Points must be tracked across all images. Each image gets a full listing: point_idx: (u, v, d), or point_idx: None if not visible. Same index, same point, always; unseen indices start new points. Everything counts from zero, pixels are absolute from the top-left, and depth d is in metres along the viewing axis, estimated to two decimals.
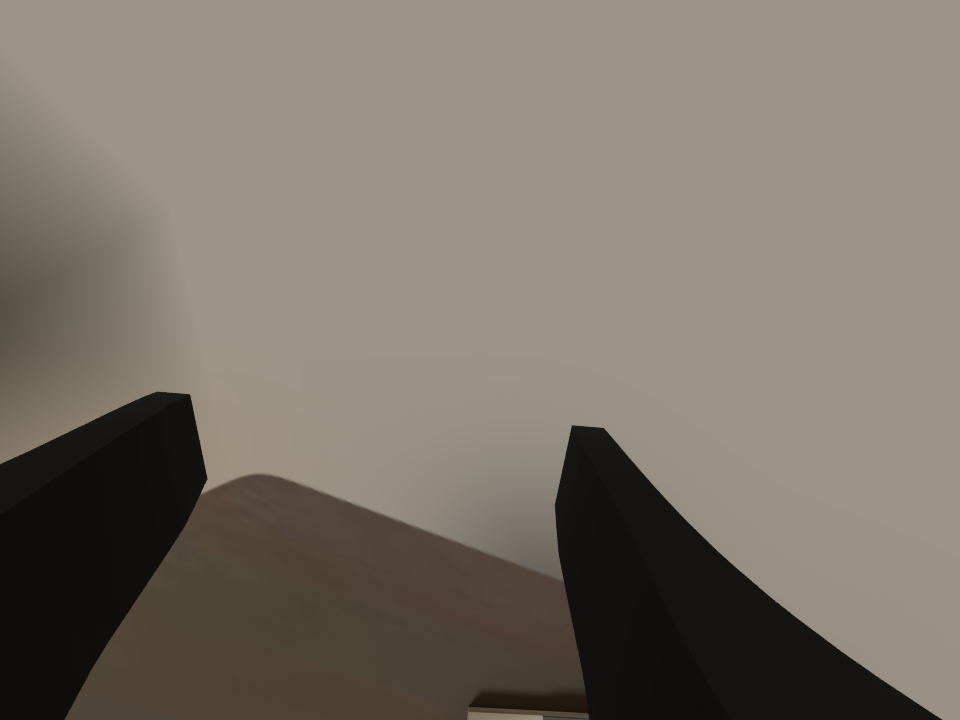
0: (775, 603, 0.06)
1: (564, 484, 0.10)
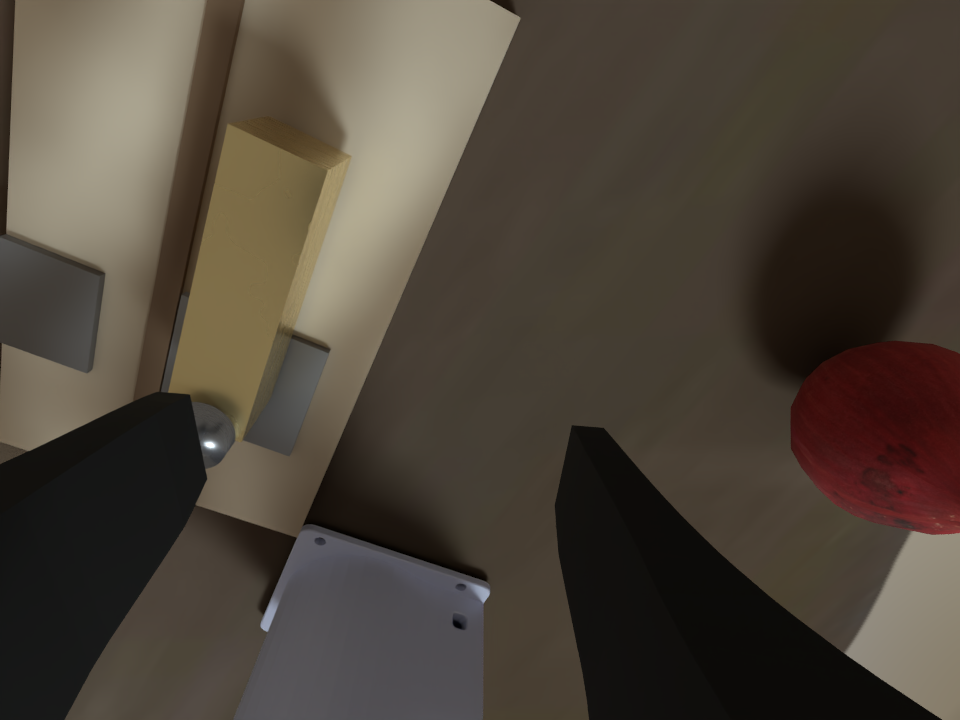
0: (775, 603, 0.06)
1: (564, 484, 0.10)
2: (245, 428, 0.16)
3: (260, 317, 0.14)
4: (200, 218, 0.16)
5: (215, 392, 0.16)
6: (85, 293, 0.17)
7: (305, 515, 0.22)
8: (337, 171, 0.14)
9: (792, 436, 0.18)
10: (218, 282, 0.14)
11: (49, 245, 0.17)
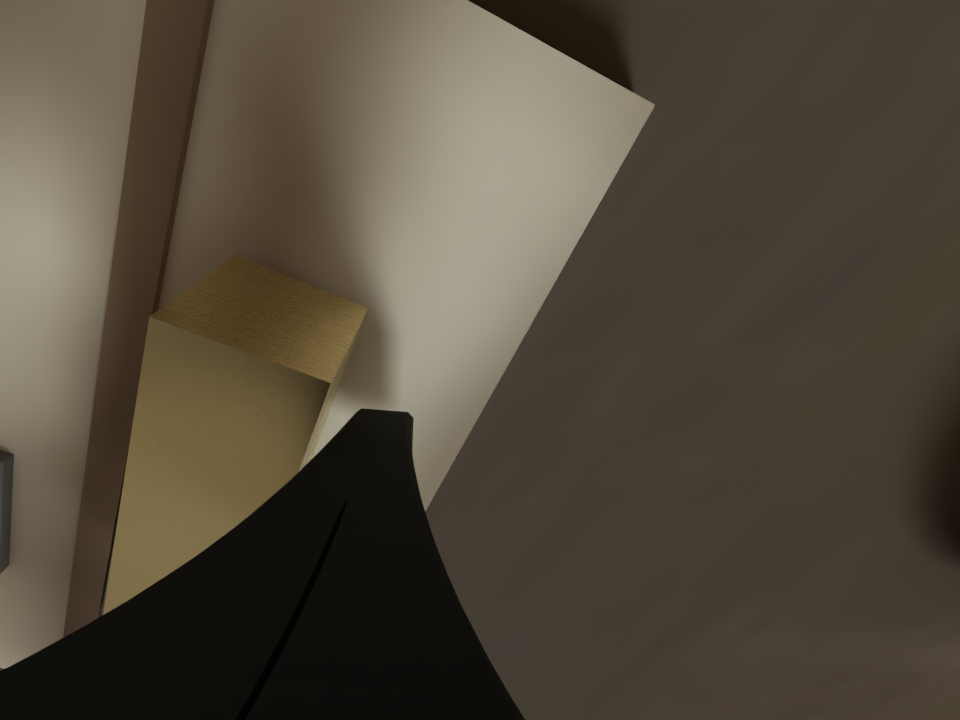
0: (441, 579, 0.06)
1: None
2: None
3: None
4: None
5: None
6: None
7: None
8: (346, 354, 0.08)
9: None
10: (158, 534, 0.09)
11: None
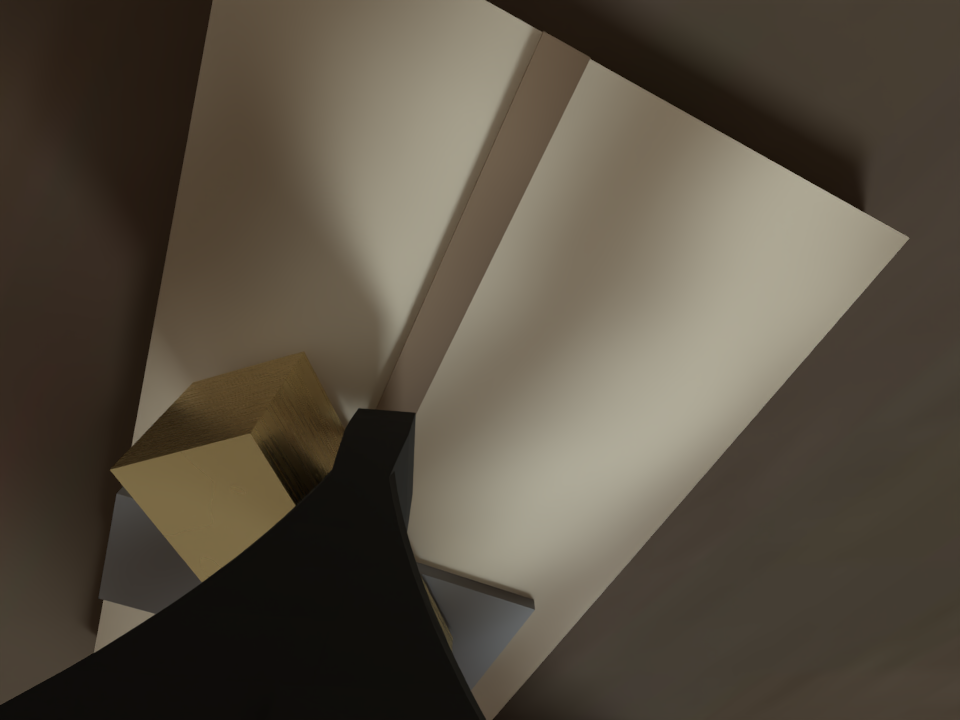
0: (412, 577, 0.06)
1: None
2: None
3: None
4: None
5: None
6: None
7: None
8: (285, 400, 0.09)
9: None
10: None
11: None
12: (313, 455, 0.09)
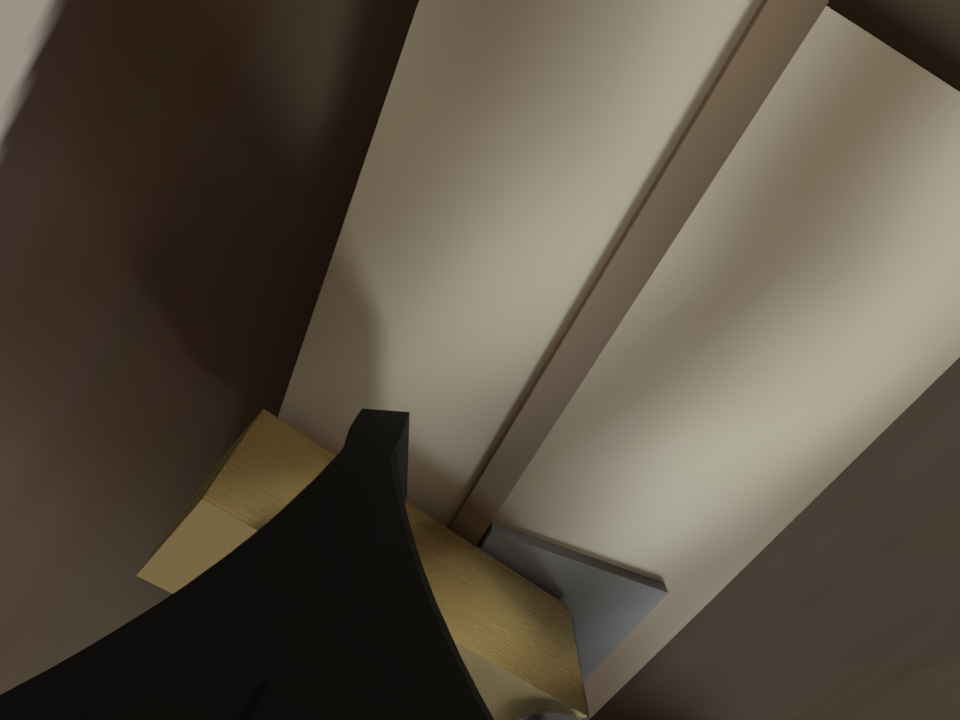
0: (418, 578, 0.06)
1: None
2: (568, 703, 0.11)
3: None
4: None
5: (499, 710, 0.11)
6: None
7: None
8: (245, 458, 0.09)
9: None
10: None
11: None
12: (298, 493, 0.10)
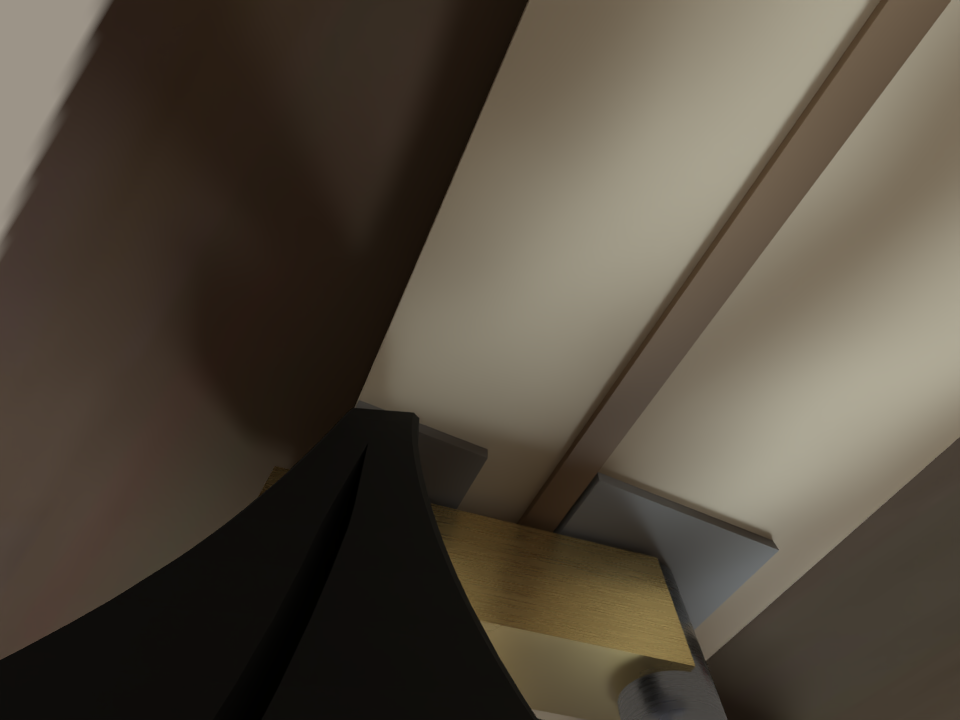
0: (451, 580, 0.06)
1: None
2: (668, 658, 0.10)
3: None
4: None
5: (600, 684, 0.10)
6: (457, 478, 0.12)
7: None
8: None
9: None
10: None
11: (417, 414, 0.11)
12: None
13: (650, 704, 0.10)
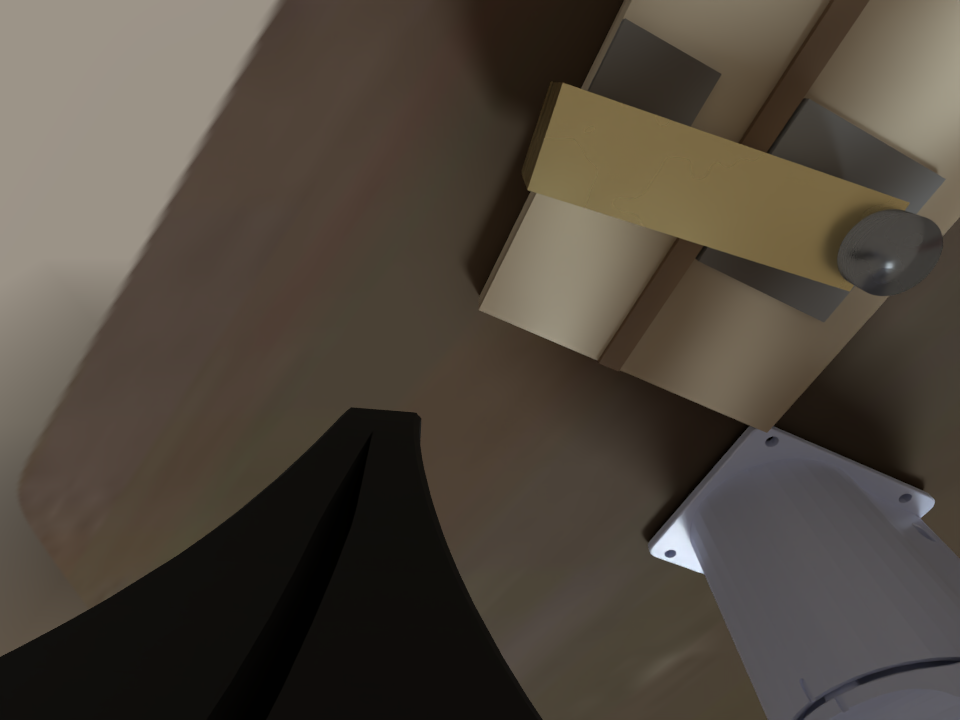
0: (454, 580, 0.06)
1: None
2: (888, 196, 0.13)
3: (733, 167, 0.12)
4: None
5: (829, 229, 0.13)
6: (692, 99, 0.14)
7: (791, 403, 0.19)
8: None
9: None
10: (688, 212, 0.13)
11: (667, 36, 0.14)
12: None
13: (879, 222, 0.12)
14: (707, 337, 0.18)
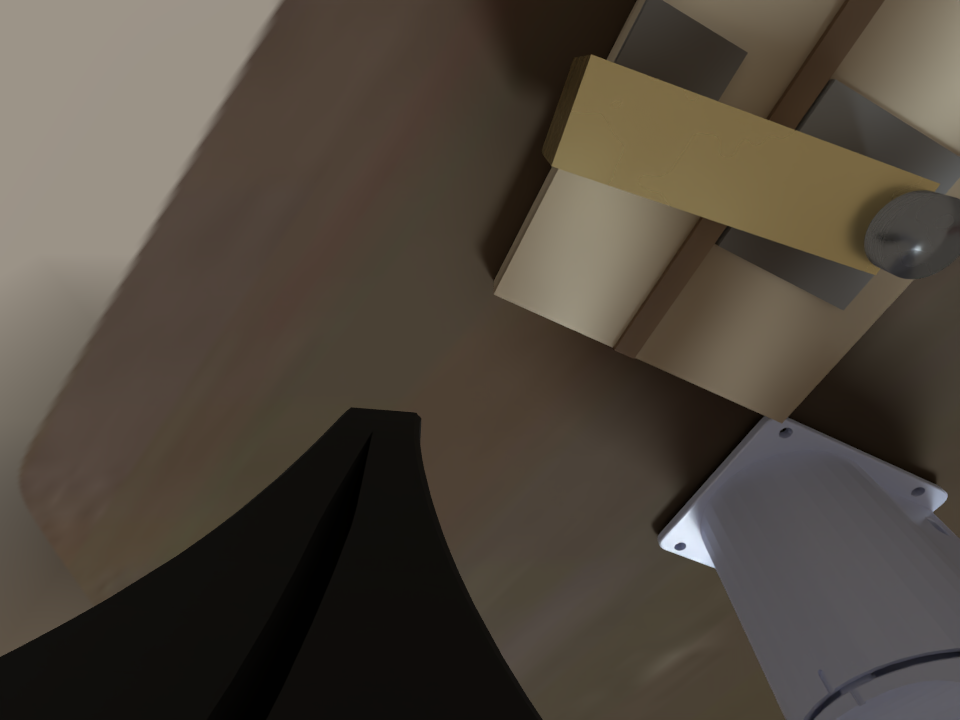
0: (454, 580, 0.06)
1: None
2: (918, 176, 0.12)
3: (762, 145, 0.12)
4: None
5: (857, 210, 0.13)
6: (717, 78, 0.14)
7: (807, 393, 0.19)
8: None
9: None
10: (715, 191, 0.13)
11: (693, 12, 0.14)
12: None
13: (910, 202, 0.12)
14: (724, 325, 0.18)
